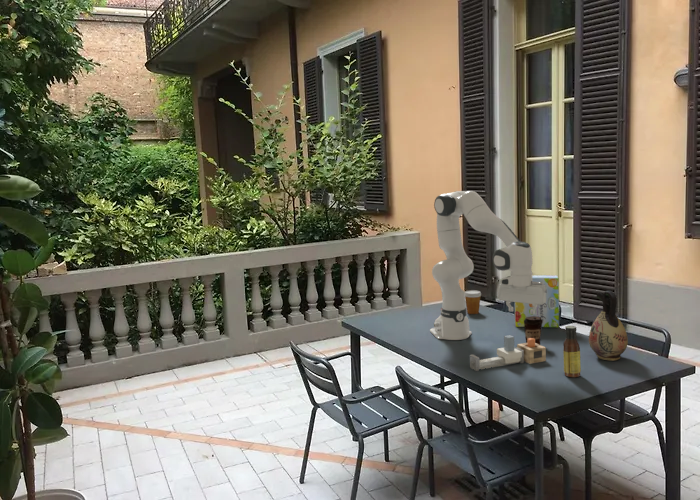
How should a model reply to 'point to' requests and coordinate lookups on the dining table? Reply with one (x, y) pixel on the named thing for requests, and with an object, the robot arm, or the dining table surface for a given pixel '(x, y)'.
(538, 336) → the coffee cup
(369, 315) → the dining table surface
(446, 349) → the dining table surface
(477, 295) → the disposable coffee cup
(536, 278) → the snack box
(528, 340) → the button
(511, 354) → the carriage
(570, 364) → the sauce bottle
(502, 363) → the rail
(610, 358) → the ceramic jug
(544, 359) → the cabinet
